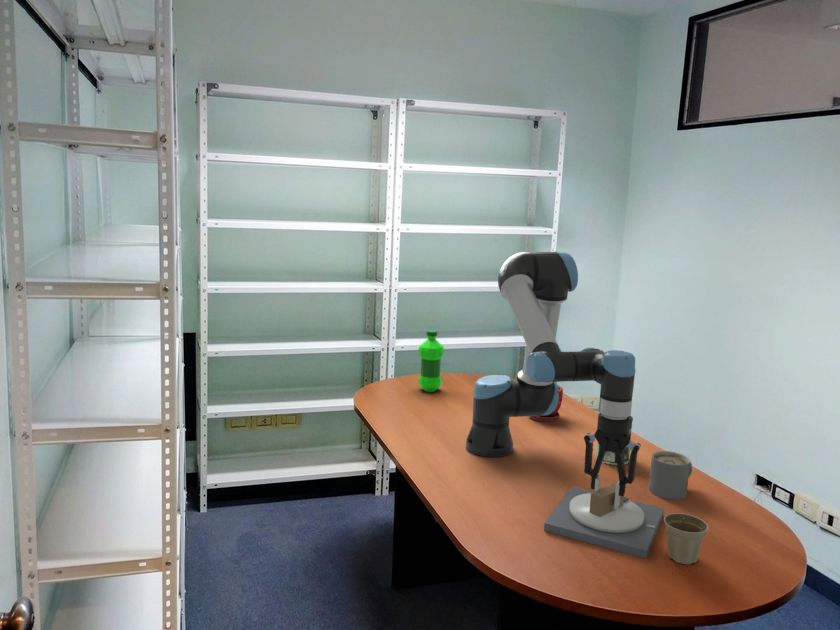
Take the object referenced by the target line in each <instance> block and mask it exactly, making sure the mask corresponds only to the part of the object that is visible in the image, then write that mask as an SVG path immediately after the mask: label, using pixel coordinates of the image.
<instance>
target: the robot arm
mask: <svg viewBox="0 0 840 630" xmlns="http://www.w3.org/2000/svg"><path fill="white" fill-rule="evenodd" d="M499 269H500V270H499V272H498V275H497V276H498V277H497V283H498V289H499V292H500V294H501V296H502V297H503V299H504V300H506V301H508V304H509V306H510V308H511V309H510V310H511V311H512V314H513V316H514V318H515V320H516V323H517V326H518V328H519V330H520V334H521V335H522V337H523V339H524V342H525V353H524V360H523V367H522V368H521V370H519V371H518V372H517V374H516V375H517V376H516V379H515V380H514V379H513V380H512V378H511V377H510V376H509V375H505V374H501V375H500V374H491V375H490V374H489V375H485V376H483V377H480V378H478V379H477V380H476V381H475V384H474V388H473V393H472V396H473V400H472V401H473V405H472V407H473V408H472V423H471V427H470V429H469V432H468V434H467V437H466V441H465V447H466V450H467V451H469V452H470V453H471V454H474V455H478V456H480V457H489V458H492V457H493V458H499V457H505V456H509V455H510V454H512V453H513V451H514V441H513V437H512V434H511V433H512V432H511V429H510V418H518V417H521V418H522V417H530V416H542V415H549V414H551V413H552V412H553V411H554V410H555V408H556V407H557V404H558V400H559V393H558V391H559V388H558V386H559V385H558V383H559V382H562V383H563V382H587V381H590V382H591V381H592V382H596V383H598V384H600V392H599V400H598V401H599V404H598V412H599V413H600V414H599V413H598V414H599V415H597V427H596V431H595V432H594V433H589V432H588V433H586V434H585V435H584V437H583V440H584V443H585V452H584V466H583V467H584V469H583V472H584V474H586V475H589V476H590V479H591V481H590V489H591V490H592V491H593V490H594V491H593V492H596V491H598V490H600V489H601V483H602V475H599V473H600V470H601V467H602V464H603V463H602V462H603V459H604V456H605V453H606V451H607V452H608V451H610V452H613V453H615V457H616V461H617V465H616V467H617V473H618V480H617V482H616V483H615V484H616V491H615V502H614V509H618V507H619V505H620V496H623V495H624V496H625V493H626V486H627V484H629V485H632V484H633V482H634V480H635V477H636V476H635V475H636V468H637V458H638V452H639V451H640V448H641V446H642V444H641V443H639V442H637V443H636V442H635V441H632V439H630V436H629V428H630V418H629V416H632V408H633V407H632V406H633V405H632V404H633V397H634V396H633V393H634V384H635V378H636V377H635V375H636V370H637V369H636V357H635V355H634V354H633V353H631V352H628V351H624V350H617V349H616V350H615V349H613V350H607V351H603V349H599V348H595V347H586V348H584V349H582V350H579V351H577V350H576V351H562V350H561V348H560V346H559V344H558V341H557V340H556V337H557V332H558V325H559V320H560V319H559V318H560V313H561V305H562V304H563V303H564V302H565V301H567V300H568V295H569V292H570V293H571V292H574V291H575V290H576V288H577V287H578V283H579V273H578V272H579V271H578V267H577V263H576V261H575V259H574V257H573V256H572V255H571V254H569V253H567V252H559V251H520V252H517V253H514V254H512V255H510V256H509V257H508V258H507V259H505V261H504V262H503V264H502V265H501V267H500V268H499ZM595 440H596V443H597V442H598V443H599V445H600V450H599V454H598V457H597V459H596V460H595V463H594V466H593V452H594V451H593V450H594V442H595ZM627 445H629V446H630V448H629V449H630V453H629V462H628V472H626V466H625V465H626V464H624V457H623V449H624V448H625V447H626V446H627ZM592 466H593V467H592ZM626 473H627V474H626Z"/></svg>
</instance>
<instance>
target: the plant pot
mask: <svg viewBox="0 0 840 630" xmlns="http://www.w3.org/2000/svg"><path fill="white" fill-rule="evenodd" d="M558 388H559V391H558V393H559V400H558V404H557V407H556V408H555V410H554V411H553V412H552V413H551V414H549V415H542V416H529V418H531V419H533V420H535V421H539V422H548V423H550V422H552V421H553V422H554V421H556V420H558V419H559V418H560V412H559V410H560V409H561V407H562V406H561V405H562V402H563V393H564V388H563V387H562V386H560V385H558Z"/></svg>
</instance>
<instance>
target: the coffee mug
mask: <svg viewBox="0 0 840 630" xmlns="http://www.w3.org/2000/svg"><path fill="white" fill-rule="evenodd" d="M692 471H693V463H692V461H691V459H690V458H689V457H687V455H684V454H683V453H682V454H681V453H680V452H679V453H678V452H675V451H667V450H659V451H655V452H653V453H652V454H651V462H650V473H649V483H648V484H649V485H648V491H649V492H650V493H652V494H653V495H655V496H656V497H659V498H662V499H666V500H683V499H685V498H686V497H687V495H688V485H689V478H690V477H691V475H692Z"/></svg>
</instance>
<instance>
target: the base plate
mask: <svg viewBox="0 0 840 630" xmlns="http://www.w3.org/2000/svg"><path fill="white" fill-rule="evenodd" d="M593 492H594V491H593V490H588V489H584V488H580V487H577V486H576V487H575V486H571V487H570V489H569V490H568V491H567V492H566V494H565V495H564V497H563V498H562V499H561V500H560V502H559V503H558V505H557V506H556V507H555V509H554V510H553V511H552V512H551V514H549V517H548V518H546V520H545V522H544V524H543V531H545V532H547V533H552V534H556V535H559V536H563V537H566V538H570V539H573V540H577V541H582V542H584V543H587V544H590V545H591V544H592V545H595V546H597V547H602V548H605V549H609V550H613V551H617V552H620V553H624V554H627V555H632V556H635V557H638V558H642V559H645V560H646V559H647V558H648V556H649V553H650V550H651V549H652V548H651V547H652V545H653V543H654V540H655V537H656V534H657V532H658V530H659V527H660V524H661V522H662V519H663V518H664V511H665V510H664V509H665V508H664V507H661V506H657V505H656V506H655V505H651V504H647V503H643V502H638V501H635V500H632V499H629V501H631V502H633V503H635V504H636V505H638V506H639V507H640V508H641V509H642V510H643V512H644V523H643V525H642V526H641V527H640V528H639V529H637V530H635V531H632V532H626V533H611V532H603V531H599V530H595V529H592V528H589V527H587V526H584V525H582V524H581V523H579V522H577V521H576V520H575V519H574V518H573V517H572V516H571V515H570V512H569V506H570V501H571V500H572V499H573V498H574V497H576V496H578V495H582V494H587V493H593Z"/></svg>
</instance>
